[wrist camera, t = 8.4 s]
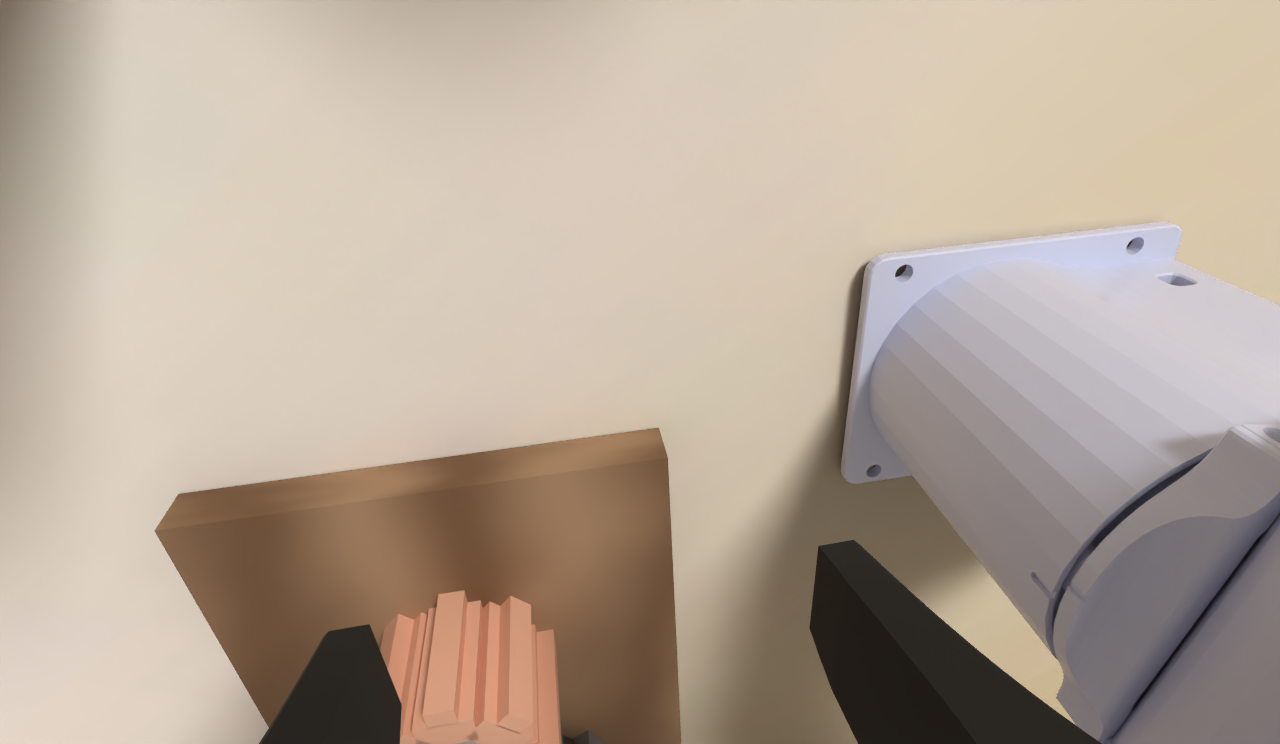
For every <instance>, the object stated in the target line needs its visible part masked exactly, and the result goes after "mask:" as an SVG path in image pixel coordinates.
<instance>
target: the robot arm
mask: <svg viewBox="0 0 1280 744" xmlns="http://www.w3.org/2000/svg"><path fill="white" fill-rule="evenodd" d="M1181 238H1182V231H1181V228H1179V227H1178V226H1177V225H1174V224H1172V223H1169V222H1155V223H1147V224H1138V225H1129V226H1121V227H1112V228H1104V229H1095V230H1086V231H1078V232H1069V233H1060V234H1052V235H1043V236H1034V237H1026V238H1017V239H1008V240H1000V241H991V242H983V243H974V244H965V245H957V246H948V247H939V248H931V249H922V250H913V251H905V252H896V253H887V254H882V255H878V256H876V257H875V258H873V259H872V260H871V261H870V262H869V263H868V265H867V266H866V269H865V272H864V279H863V287H862V296H861V304H860V312H859V321H858V329H857V337H856V345H855V354H854V362H853V370H852V379H851V387H850V395H849V403H848V412H847V420H846V428H845V437H844V445H843V453H842V461H841V474H842V475H843V477H844V478H845V480H846V481H847V482H848V483H851V484H860V483H867V482H874V481H880V480H887V479H893V478H900V477H907V476H913V477H914V479H915V480H916V481H917V482H918V484H919V485H920V486H921V487H922V489H923V490H924V491H925V493H926V494H927V495H928V496H929V498H930V499H931V500H932V501H933V503H934V504H935V505H936V507H937V508H938V509H939V510H940V512H941V513H942V514H943V515H944V517H945V518H946V519H947V521H948V522H949V523H950V524H951V526H952V527H953V528H954V530H955V531H956V532H957V533H958V535H959V536H960V537H961V538H962V540H963V541H964V542H965V544H966V545H967V546H968V547H969V549H970V550H971V551H972V552H973V554H974V555H975V556H976V558H977V559H978V560H979V561H980V563H981V564H982V565H983V566H984V568H985V569H986V570H987V572H988V573H989V574H990V575H991V577H992V578H993V579H994V581H995V582H996V583H997V584H998V586H999V587H1000V588H1001V589H1002V591H1003V592H1004V593H1005V595H1006V596H1007V597H1008V598H1009V600H1010V601H1011V602H1012V603H1013V605H1014V606H1015V607H1016V609H1017V610H1018V611H1019V612H1020V614H1021V615H1022V616H1023V618H1024V619H1025V620H1026V621H1027V623H1028V624H1029V625H1030V626H1031V628H1032V629H1033V630H1034V632H1035V633H1036V634H1037V635H1038V637H1039V638H1040V639H1041V640H1042V642H1043V643H1044V644H1045V646H1046V647H1047V648H1048V649H1049V651H1050V652H1051V653H1052V654H1053V656H1054V657H1055V658H1056V659H1057V660H1058V661H1059V663H1060V665H1061V667H1062V669H1063V673H1064V679H1063V683H1062V686H1061V687H1060V689H1059V691H1058V693H1057V697H1056V698H1057V700H1058V701H1059V702H1060V704H1061V705H1062V706H1063V708H1064V709H1065V710H1066V712H1067V713H1068V714H1069V716H1070V717H1071V718H1072V720H1073V721H1074V722H1075V724H1076V725H1077V726H1078V727H1077V726H1076V725H1075V724H1073V723H1072V722H1070V721H1069V720H1067V719H1066V718H1065V717H1063V716H1062V715H1061V714H1059V713H1058V712H1057V711H1055V710H1054V709H1052V708H1051V707H1050V706H1048V705H1047V704H1046V703H1044V702H1043V701H1042V700H1040V699H1039V698H1038V697H1036V696H1035V695H1034V694H1032V693H1031V692H1030V691H1028V690H1027V689H1026V688H1025V687H1023V686H1022V685H1021V684H1020V683H1018V682H1017V681H1016V680H1014V679H1013V678H1012V677H1011V676H1009V675H1008V674H1007V673H1005V672H1004V671H1003V670H1002V669H1000V668H999V667H998V666H997V665H995V664H994V663H993V662H992V661H990V660H989V659H988V658H987V657H986V656H984V655H983V654H982V653H981V652H979V651H978V650H977V649H976V648H975V647H973V646H972V645H971V644H970V643H969V642H968V641H966V640H965V639H964V638H963V637H962V636H961V635H959V634H958V633H957V632H956V631H955V630H954V629H952V628H951V627H950V626H949V625H948V624H946V623H945V622H944V621H943V620H942V619H941V618H939V617H938V616H937V615H936V614H935V613H934V612H933V611H932V610H930V609H929V608H928V607H927V606H926V605H925V604H924V603H923V602H921V601H920V600H919V599H918V598H917V597H916V596H915V595H914V594H913V593H911V592H910V591H909V590H908V589H907V588H906V587H905V586H904V585H903V584H902V583H900V582H899V581H898V580H897V579H896V578H895V577H894V576H893V575H892V574H891V573H890V572H888V571H887V570H886V569H885V568H884V567H883V566H882V565H881V564H880V563H879V562H878V561H877V560H876V559H875V558H873V557H872V556H871V555H870V554H869V553H868V552H867V551H866V550H865V549H864V548H863V547H862V546H860V545H859V544H858V543H857V542H856V541H854V540H851V541H845V542H839V543H834V544H828V545H822V546H819V547H818V556H817V566H816V575H815V584H814V593H813V602H812V611H811V620H810V631H811V633H812V636H813V639H814V642H815V645H816V648H817V651H818V653H819V656H820V659H821V662H822V665H823V667H824V670H825V673H826V675H827V678H828V681H829V683H830V686H831V689H832V691H833V693H834V695H835V697H836V699H837V701H838V703H839V705H840V707H841V709H842V712H843V714H844V716H845V718H846V720H847V722H848V724H849V726H850V728H851V730H852V732H853V734H854V736H855V738H856V740H857V742H858V744H1280V305H1277V304H1275V303H1273V302H1271V301H1268V300H1266V299H1264V298H1261V297H1259V296H1257V295H1254V294H1252V293H1250V292H1248V291H1245V290H1243V289H1241V288H1238V287H1236V286H1234V285H1231V284H1229V283H1227V282H1225V281H1222V280H1220V279H1218V278H1215V277H1213V276H1211V275H1208V274H1206V273H1204V272H1202V271H1199V270H1197V269H1195V268H1192V267H1190V266H1188V265H1185V264H1183V263H1181V262H1179V261H1176V260H1174V258H1175V255H1176V253H1177V250H1178V247H1179V244H1180V242H1181ZM1131 240H1133V241H1132V243H1131V245H1130V246H1129V247H1127V245H1128V244H1129V242H1130V241H1131ZM905 264H906V269H905V272H904V273H903V274H902V275H900V276H898V277H895V273H896V271H897V269H898V268H899V267H900V266H903V265H905ZM873 465H875V466H874V467H873V468H872V469H869V470H867V469H868V468H869V467H870V466H873ZM401 710H402V704H401V702H400V699H399V697H398V694H397V692H396V689H395V687H394V684H393V682H392V679H391V677H390V674H389V672H388V669H387V667H386V664H385V662H384V659H383V657H382V654H381V652H380V649H379V647H378V644H377V642H376V639H375V637H374V634H373V632H372V629H371V626H370V624H367V625H361V626H355V627H350V628H344V629H338V630H332V631H328V632H327V633H326V635H325V636H324V637H323V638H322V640H321V642H320V643H319V645H318V647H317V649H316V650H315V652H314V654H313V655H312V657H311V659H310V661H309V662H308V664H307V666H306V667H305V669H304V671H303V673H302V674H301V676H300V678H299V679H298V681H297V683H296V684H295V686H294V688H293V689H292V691H291V693H290V694H289V696H288V698H287V699H286V701H285V703H284V704H283V706H282V708H281V709H280V711H279V713H278V714H277V716H276V718H275V719H274V721H273V722H272V724H271V726H270V727H269V729H268V731H267V732H266V734H265V735H264V737H263V738H262V740H261V742H260V743H259V744H400V729H401Z"/></svg>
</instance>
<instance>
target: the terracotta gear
mask: <svg viewBox="0 0 1280 744" xmlns="http://www.w3.org/2000/svg"><path fill="white" fill-rule="evenodd" d="M380 652H381V654H382V657H383V659H384V662H385V664H386V667H387V669H388V672H389V674H390V677H391V679H392V682H393V684H394V687H395V689H396V692H397V694H398V697H399V699H400V702H401V704H402V710H401V729H400V744H456V743H462V742H468V741H473V742H476V743H479V744H562V742H561V723H560V705H559V687H558V668H557V650H556V641H555V636H554V630H553V629H552V630H546V631H540V632H537V631H536V626H535V624H533V625H531V605H530V604H528V603H526V602H524V601H521V600H519V599H517V598H515V597H513V596H510V597H509V598H508V599H507V600H506V601H505V602H504V603H503V604H502V605H501V606H499V605H497V604H495V603H492V602H490V601H489V602H488V603H487V604H486V605H485V606H484V607H482V603H481V600H479V601H473V602H468V601H467V598H466V594H465V590H463V591H457V592H450V593H444V594H438V600H437V607H436V608H429V612H428V615H427V614H424V613H422V612H421V613H420V614H419V615H418V616H417V617H416V618H415V619H414V620H413V619H411V618H408V617H406V616H403V615H401V614H397V616H396V617H395V618H394V619H393V620H392V621H391V622H390V623H389V624H388V625H387V626H386V627H385V628H384V633H383V637H382V642H381V647H380Z"/></svg>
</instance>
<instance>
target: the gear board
mask: <svg viewBox="0 0 1280 744" xmlns="http://www.w3.org/2000/svg"><path fill="white" fill-rule="evenodd" d="M155 532H156V534H157V536H158V538H159V539H160V541H161V543H162V544H163V546H164V548H165V550H166V551H167V553H168V555H169V556H170V558H171V560H172V562H173V563H174V565H175V567H176V569H177V570H178V572H179V574H180V575H181V577H182V579H183V581H184V582H185V584H186V586H187V587H188V589H189V591H190V593H191V594H192V596H193V598H194V599H195V601H196V603H197V605H198V606H199V608H200V610H201V612H202V613H203V615H204V617H205V618H206V620H207V622H208V624H209V625H210V627H211V629H212V630H213V632H214V634H215V636H216V637H217V639H218V641H219V643H220V644H221V646H222V648H223V649H224V651H225V653H226V655H227V656H228V658H229V660H230V661H231V663H232V665H233V667H234V668H235V670H236V672H237V673H238V675H239V677H240V679H241V680H242V682H243V684H244V686H245V687H246V689H247V691H248V692H249V694H250V696H251V698H252V699H253V701H254V703H255V704H256V706H257V708H258V710H259V711H260V713H261V715H262V716H263V718H264V720H265V722H266V723H267V725H268V727H270V726H271V724H272V722H273V721H274V719H275V718H276V716H277V714H278V713H279V711H280V709H281V708H282V706H283V704H284V703H285V701H286V699H287V698H288V696H289V694H290V693H291V691H292V689H293V688H294V686H295V684H296V683H297V681H298V679H299V678H300V676H301V674H302V673H303V671H304V669H305V667H306V666H307V664H308V662H309V661H310V659H311V657H312V655H313V654H314V652H315V650H316V649H317V647H318V645H319V643H320V642H321V640H322V638H323V637H324V636H325V635H326V633H327V632H328V631H332V630H338V629H344V628H350V627H355V626H361V625H367V624H370V626H371V629H372V632H373V634H374V637H375V639H376V642H377V644H378V647H379V649H380V647H381V642H382V637H383V633H384V628H385V627H386V626H387V625H388V624H389V623H390V622H391V621H392V620H393V619H394V618H395V617H396V616H397V614H401V615H403V616H406V617H408V618H411V619H413V620H414V619H415V618H416V617H417V616H418V615H419V614H420V613H421V612H422V613H424V614H427V615H428V612H429V608H436V607H437V600H438V594H444V593H450V592H457V591H463V590H465V594H466V598H467V601H468V602H473V601H479V600H481V603H482V607H484V606H485V605H486V604H487V603H488V602H489V601H490V602H492V603H495V604H497V605H499V606H501V605H502V604H503V603H504V602H505V601H506V600H507V599H508V598H509V597H510V596H513V597H515V598H517V599H519V600H521V601H524V602H526V603H528V604H530V605H531V625H533V624H535V626H536V631H537V632H540V631H546V630H552V629H553V630H554V636H555V641H556V650H557V668H558V687H559V705H560V723H561V742H562V744H681V731H680V710H679V688H678V667H677V646H676V624H675V603H674V582H673V560H672V539H671V518H670V496H669V475H668V457H667V454H666V450H665V447H664V444H663V441H662V437H661V434H660V431H659V428H654V429H647V430H640V431H632V432H625V433H618V434H611V435H603V436H596V437H589V438H582V439H574V440H567V441H560V442H553V443H545V444H538V445H531V446H524V447H516V448H509V449H502V450H495V451H487V452H480V453H473V454H466V455H459V456H451V457H444V458H437V459H430V460H422V461H415V462H408V463H401V464H393V465H386V466H379V467H372V468H364V469H357V470H350V471H343V472H335V473H328V474H321V475H314V476H307V477H299V478H292V479H285V480H278V481H270V482H263V483H256V484H249V485H241V486H234V487H227V488H220V489H212V490H205V491H198V492H191V493H183V494H178V496H177V497H176V499H175V500H174V502H173V504H172V505H171V507H170V508H169V510H168V511H167V513H166V514H165V516H164V517H163V519H162V520H161V522H160V523H159V525H158V526H157V528H156V529H155ZM456 744H479V743H476V742H473V741H468V742H462V743H456Z"/></svg>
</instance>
